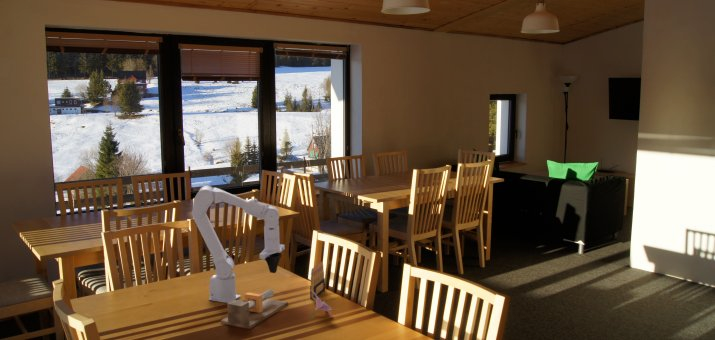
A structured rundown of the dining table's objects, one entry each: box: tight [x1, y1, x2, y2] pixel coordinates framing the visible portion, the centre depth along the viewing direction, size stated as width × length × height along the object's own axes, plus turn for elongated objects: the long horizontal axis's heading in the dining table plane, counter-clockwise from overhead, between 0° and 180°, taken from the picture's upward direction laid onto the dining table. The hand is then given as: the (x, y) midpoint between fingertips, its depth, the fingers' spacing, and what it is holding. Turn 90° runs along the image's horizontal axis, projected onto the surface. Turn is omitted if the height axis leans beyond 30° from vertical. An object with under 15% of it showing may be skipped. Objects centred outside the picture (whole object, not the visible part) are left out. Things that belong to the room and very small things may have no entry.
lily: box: [309, 287, 334, 320], centre depth 209 cm, size 12×12×10 cm
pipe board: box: [220, 298, 289, 330], centre depth 213 cm, size 12×24×8 cm, turn 155°
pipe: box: [248, 288, 275, 309], centre depth 213 cm, size 3×18×3 cm, turn 155°
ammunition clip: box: [309, 261, 326, 300], centre depth 231 cm, size 11×2×12 cm, turn 160°
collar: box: [244, 291, 263, 313], centre depth 212 cm, size 6×2×6 cm, turn 65°
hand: (273, 272), depth 230 cm, fingers closed
